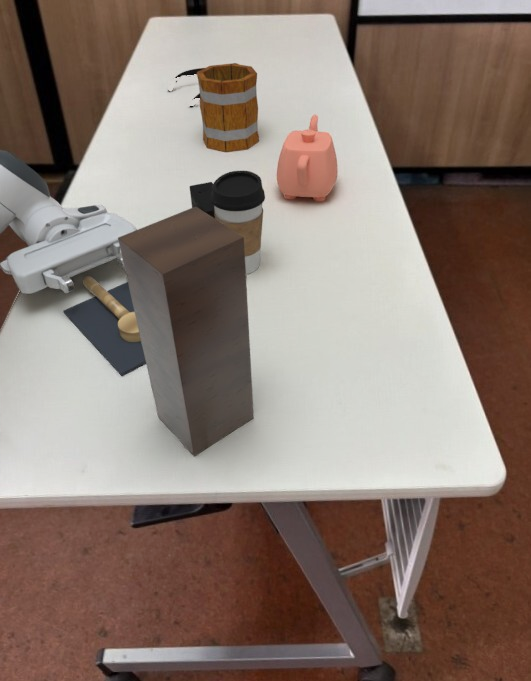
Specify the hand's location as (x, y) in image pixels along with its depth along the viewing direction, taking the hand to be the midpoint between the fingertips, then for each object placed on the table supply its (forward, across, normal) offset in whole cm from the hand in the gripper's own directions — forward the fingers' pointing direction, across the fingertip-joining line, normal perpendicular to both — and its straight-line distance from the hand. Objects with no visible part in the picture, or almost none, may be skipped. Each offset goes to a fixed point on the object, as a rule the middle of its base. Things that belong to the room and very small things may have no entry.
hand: (98, 275), depth 85 cm
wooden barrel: (-39, +55, +6) cm, 67 cm away
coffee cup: (+6, +22, +6) cm, 24 cm away
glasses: (-67, +67, +6) cm, 95 cm away
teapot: (-7, +49, +6) cm, 50 cm away
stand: (+29, -2, +6) cm, 30 cm away
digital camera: (-7, +25, +6) cm, 26 cm away
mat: (+7, 0, +6) cm, 9 cm away
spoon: (+3, 0, +5) cm, 6 cm away
